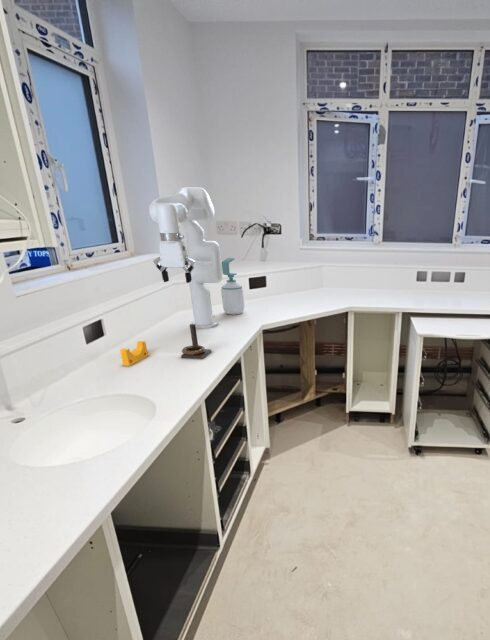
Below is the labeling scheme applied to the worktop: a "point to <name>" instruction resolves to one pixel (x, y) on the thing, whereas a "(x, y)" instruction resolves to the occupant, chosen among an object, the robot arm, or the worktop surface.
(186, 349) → the ring
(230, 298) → the soap bottle
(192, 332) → the post
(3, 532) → the worktop surface
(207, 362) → the worktop surface
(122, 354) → the pipe clamp
